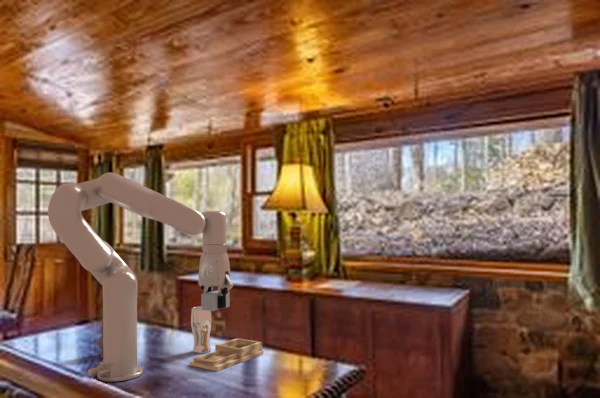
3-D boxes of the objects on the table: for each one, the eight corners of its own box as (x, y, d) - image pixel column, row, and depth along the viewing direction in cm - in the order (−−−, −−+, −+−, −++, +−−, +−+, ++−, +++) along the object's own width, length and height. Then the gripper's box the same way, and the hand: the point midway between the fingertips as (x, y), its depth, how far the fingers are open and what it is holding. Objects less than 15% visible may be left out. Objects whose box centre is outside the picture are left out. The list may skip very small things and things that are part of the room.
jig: (217, 371, 151) (217, 357, 151) (189, 365, 158) (189, 352, 158) (263, 354, 169) (263, 342, 170) (236, 349, 176) (236, 338, 176)
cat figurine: (128, 354, 172) (128, 319, 173) (108, 360, 166) (108, 323, 166) (113, 351, 177) (112, 316, 177) (92, 356, 170) (92, 320, 171)
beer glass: (214, 348, 178) (213, 306, 178) (208, 354, 171) (208, 309, 171) (194, 348, 178) (194, 306, 179) (188, 353, 172) (188, 309, 172)
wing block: (212, 311, 155) (212, 294, 155) (201, 309, 157) (201, 293, 158) (229, 306, 163) (229, 290, 163) (218, 305, 165) (218, 290, 165)
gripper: (187, 250, 162) (188, 307, 162) (226, 251, 153) (227, 311, 152) (204, 248, 168) (205, 303, 168) (242, 249, 159) (243, 307, 158)
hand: (215, 306), depth 160 cm, fingers closed on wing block, 4 cm apart
